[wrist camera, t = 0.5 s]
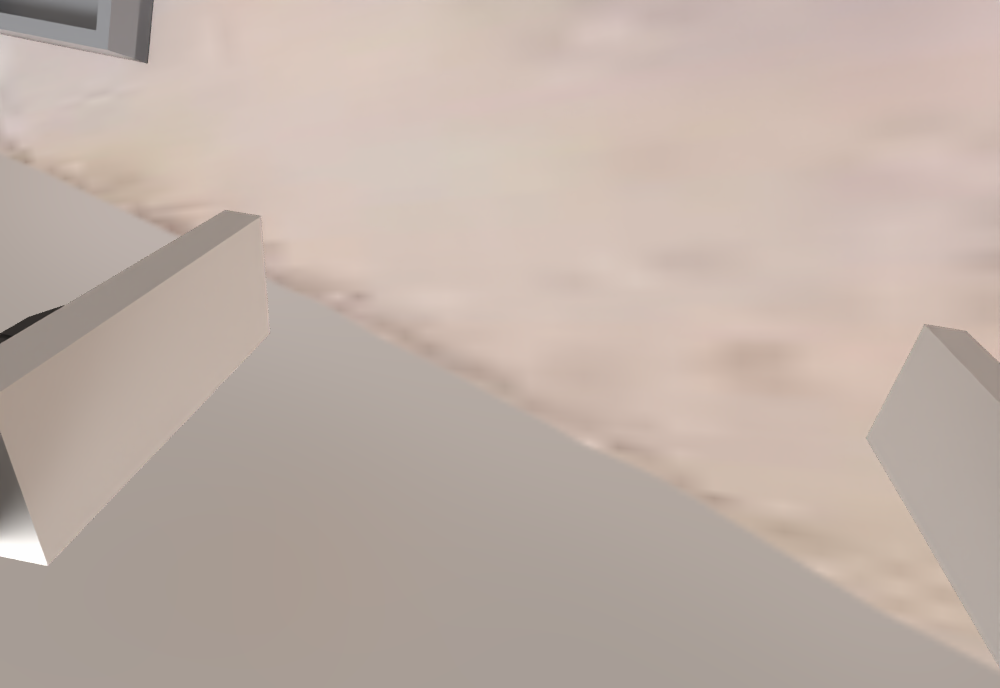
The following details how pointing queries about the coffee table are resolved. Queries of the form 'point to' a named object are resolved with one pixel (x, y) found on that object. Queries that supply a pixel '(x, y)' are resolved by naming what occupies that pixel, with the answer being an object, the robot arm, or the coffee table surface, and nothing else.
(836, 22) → the coffee table surface
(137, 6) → the tray
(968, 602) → the robot arm
